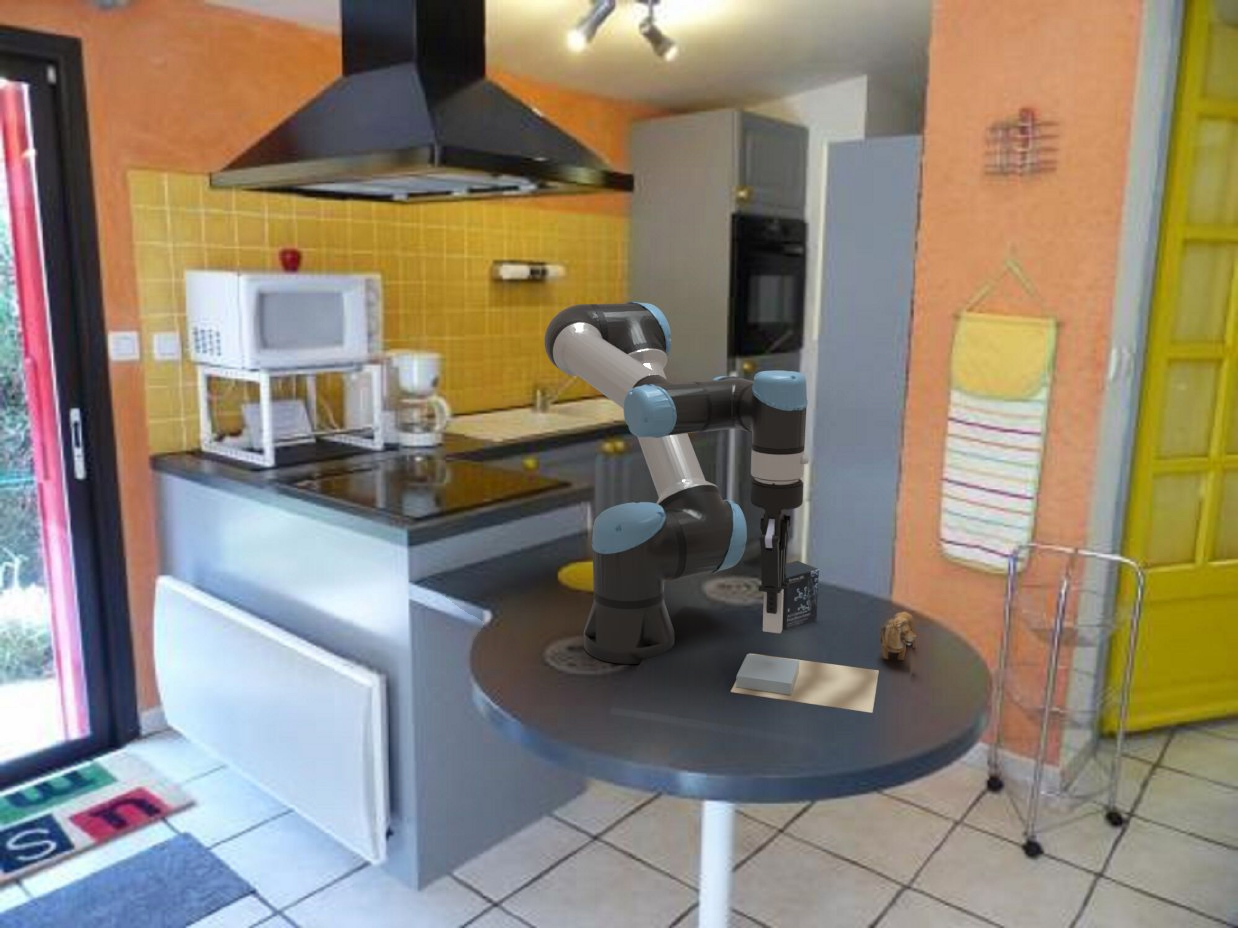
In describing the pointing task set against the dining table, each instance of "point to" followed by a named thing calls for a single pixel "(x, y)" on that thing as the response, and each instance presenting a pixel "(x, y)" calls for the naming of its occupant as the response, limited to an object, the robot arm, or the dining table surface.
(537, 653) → the dining table surface
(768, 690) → the block
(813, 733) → the dining table surface
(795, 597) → the box
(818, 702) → the board
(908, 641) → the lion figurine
